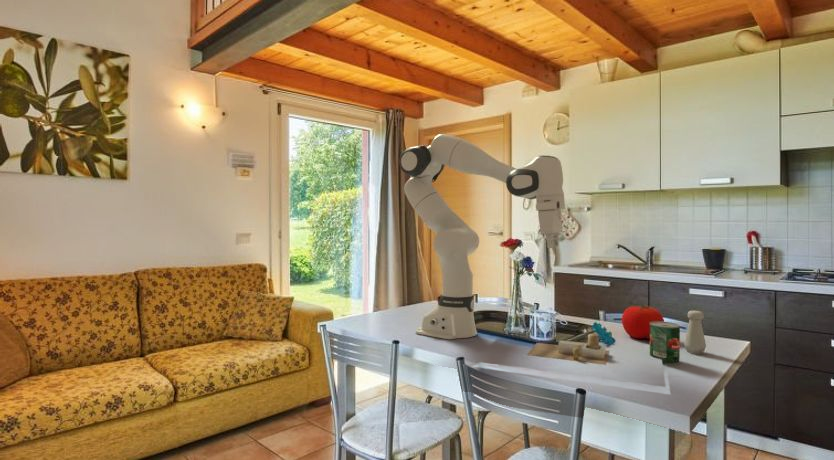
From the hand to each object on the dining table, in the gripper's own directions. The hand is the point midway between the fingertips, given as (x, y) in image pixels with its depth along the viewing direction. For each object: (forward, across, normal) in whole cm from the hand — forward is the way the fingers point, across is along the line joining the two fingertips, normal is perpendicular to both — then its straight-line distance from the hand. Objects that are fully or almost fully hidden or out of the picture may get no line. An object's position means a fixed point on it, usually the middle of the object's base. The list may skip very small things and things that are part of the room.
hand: (553, 247), depth 154 cm
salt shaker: (+36, -12, +39) cm, 54 cm away
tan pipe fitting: (+32, +10, +8) cm, 34 cm away
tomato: (+35, -25, +24) cm, 49 cm away
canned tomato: (+35, +2, +30) cm, 46 cm away
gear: (+34, -8, +13) cm, 37 cm away
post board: (+33, +10, +4) cm, 35 cm away
